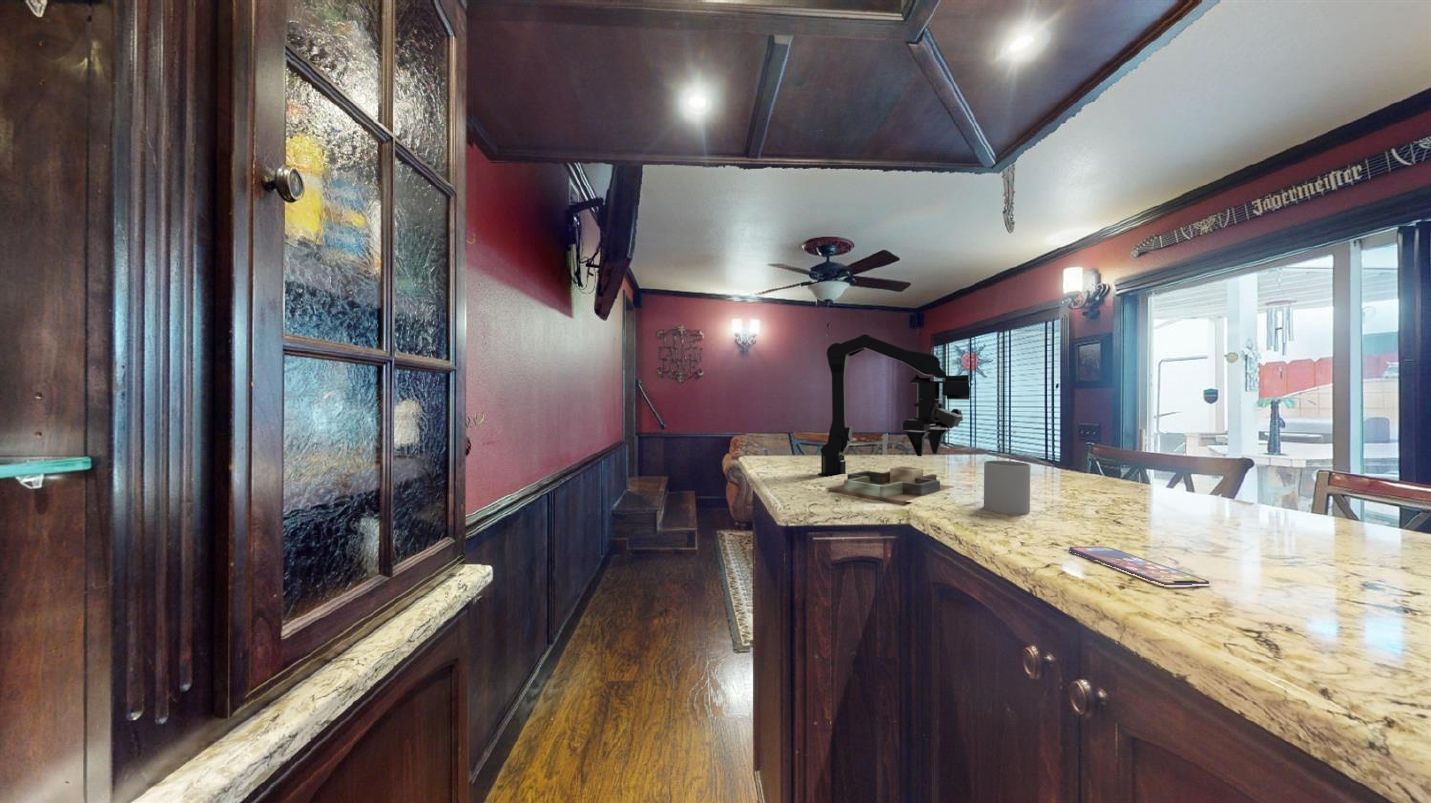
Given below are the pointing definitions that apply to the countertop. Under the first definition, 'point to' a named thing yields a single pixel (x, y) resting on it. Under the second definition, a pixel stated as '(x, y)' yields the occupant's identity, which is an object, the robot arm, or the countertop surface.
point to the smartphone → (1138, 566)
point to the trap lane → (887, 487)
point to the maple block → (905, 474)
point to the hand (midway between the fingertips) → (927, 455)
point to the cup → (1007, 487)
